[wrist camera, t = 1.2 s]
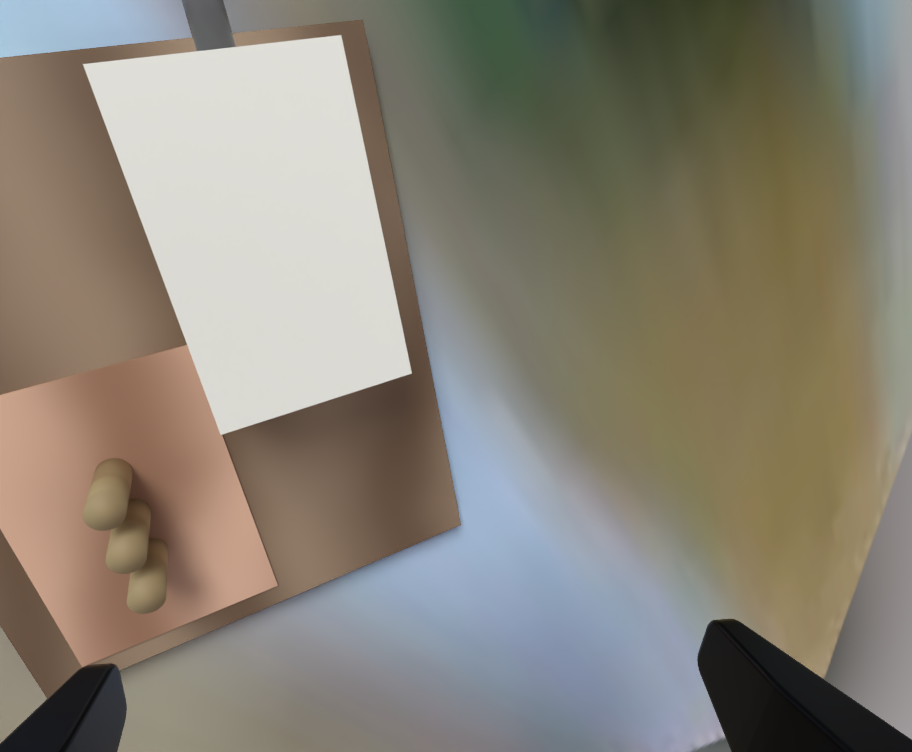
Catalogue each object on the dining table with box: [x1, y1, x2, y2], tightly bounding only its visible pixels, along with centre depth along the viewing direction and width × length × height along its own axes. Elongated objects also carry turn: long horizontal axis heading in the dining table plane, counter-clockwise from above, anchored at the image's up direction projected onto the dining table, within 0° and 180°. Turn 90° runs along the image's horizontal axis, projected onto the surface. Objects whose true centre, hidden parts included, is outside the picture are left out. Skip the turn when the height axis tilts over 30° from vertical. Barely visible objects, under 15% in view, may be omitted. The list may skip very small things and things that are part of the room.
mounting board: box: [0, 20, 461, 699], centre depth 17 cm, size 15×18×3 cm
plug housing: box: [83, 0, 412, 435], centre depth 14 cm, size 5×11×4 cm, turn 11°
